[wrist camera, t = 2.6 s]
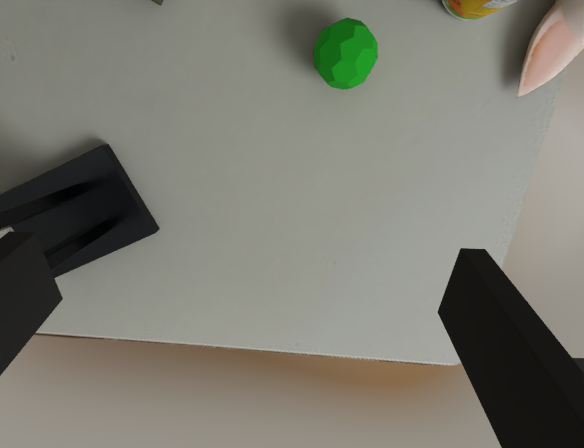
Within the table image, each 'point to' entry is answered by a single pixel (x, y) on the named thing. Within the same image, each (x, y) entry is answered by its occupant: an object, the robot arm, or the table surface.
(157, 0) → the control box
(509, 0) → the supplement bottle
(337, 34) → the polyhedron
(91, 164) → the switch bracket
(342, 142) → the table surface
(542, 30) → the toy dog
